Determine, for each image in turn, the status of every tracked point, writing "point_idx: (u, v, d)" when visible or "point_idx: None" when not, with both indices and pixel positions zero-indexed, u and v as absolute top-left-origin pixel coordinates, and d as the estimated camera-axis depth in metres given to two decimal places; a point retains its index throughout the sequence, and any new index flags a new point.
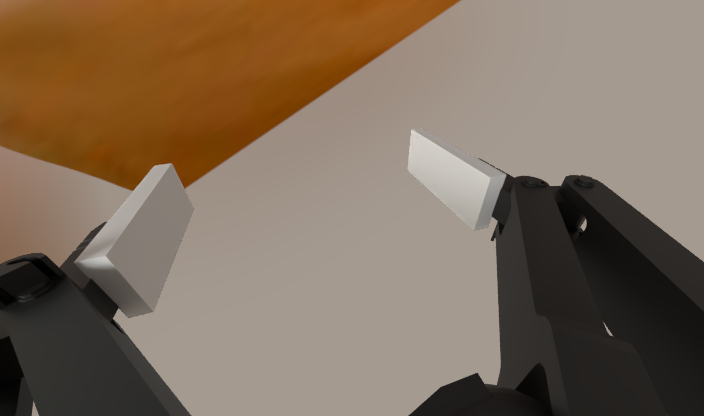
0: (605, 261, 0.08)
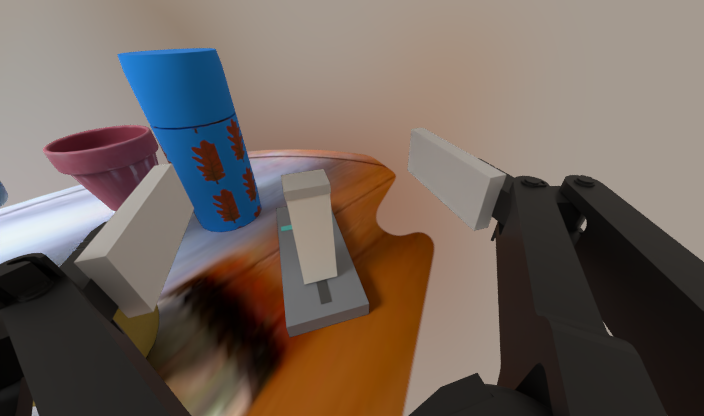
0: (605, 261, 0.08)
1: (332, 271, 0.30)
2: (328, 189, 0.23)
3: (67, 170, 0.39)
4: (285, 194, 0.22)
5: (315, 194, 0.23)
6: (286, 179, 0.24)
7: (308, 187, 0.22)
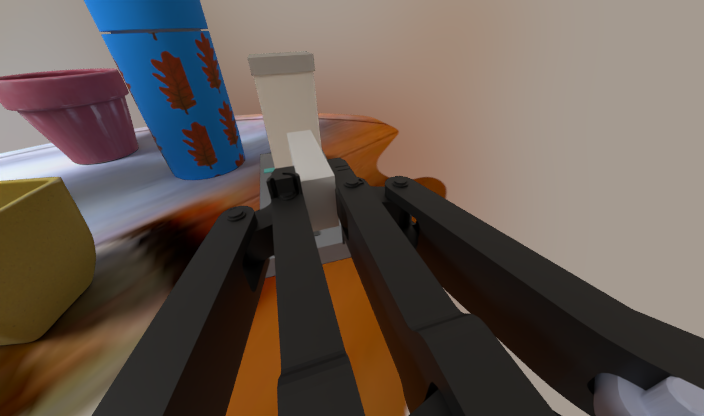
0: (446, 256, 0.08)
1: None
2: (311, 63, 0.17)
3: (12, 104, 0.33)
4: (251, 63, 0.16)
5: (293, 70, 0.17)
6: (255, 55, 0.18)
7: (283, 56, 0.16)
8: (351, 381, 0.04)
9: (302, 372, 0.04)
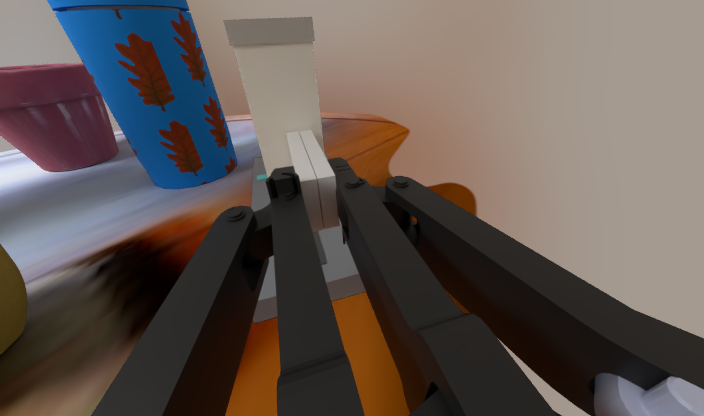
0: (446, 255, 0.08)
1: None
2: (309, 30, 0.13)
3: None
4: (228, 27, 0.12)
5: (286, 39, 0.13)
6: None
7: (271, 19, 0.12)
8: (350, 381, 0.04)
9: (301, 373, 0.04)
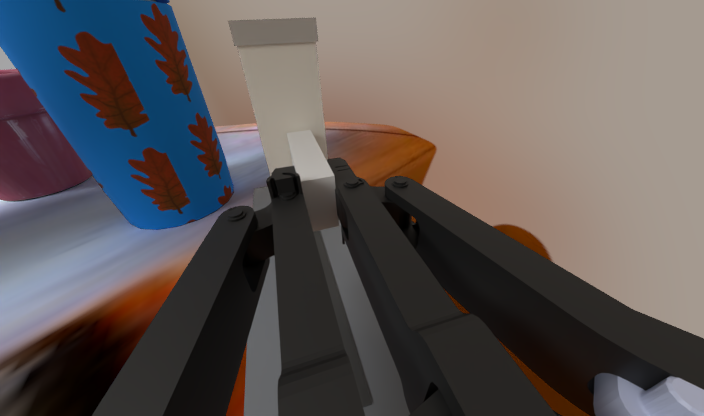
0: (446, 256, 0.08)
1: None
2: (313, 31, 0.13)
3: None
4: (233, 28, 0.12)
5: (290, 39, 0.13)
6: None
7: (276, 19, 0.12)
8: (351, 381, 0.04)
9: (302, 372, 0.04)
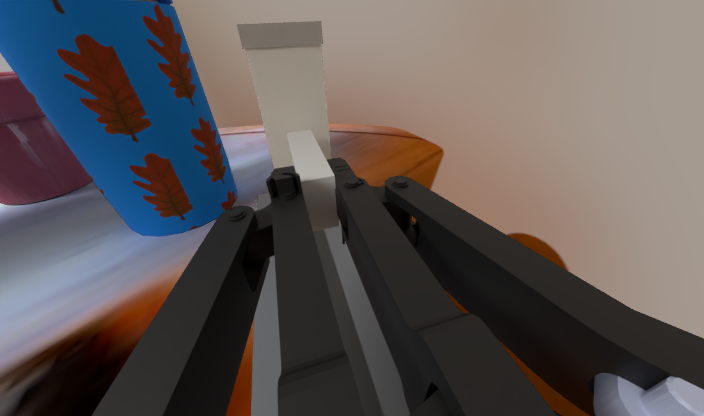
0: (446, 256, 0.08)
1: None
2: (318, 34, 0.13)
3: None
4: (241, 31, 0.12)
5: (296, 42, 0.13)
6: None
7: (282, 23, 0.13)
8: (351, 381, 0.04)
9: (302, 372, 0.04)
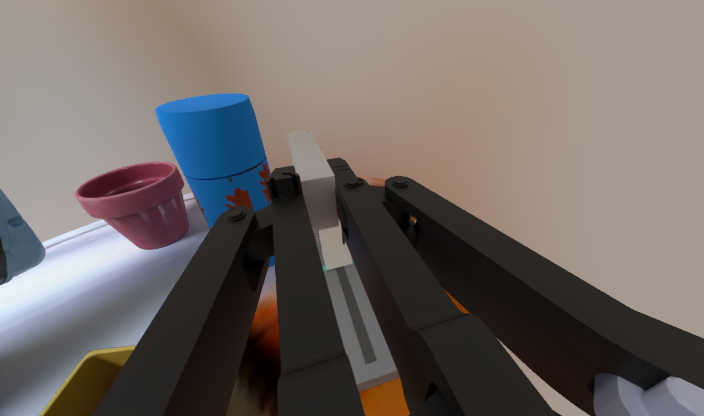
0: (446, 256, 0.08)
1: (348, 259, 0.37)
2: None
3: (98, 214, 0.39)
4: None
5: None
6: None
7: None
8: (351, 381, 0.04)
9: (301, 372, 0.04)
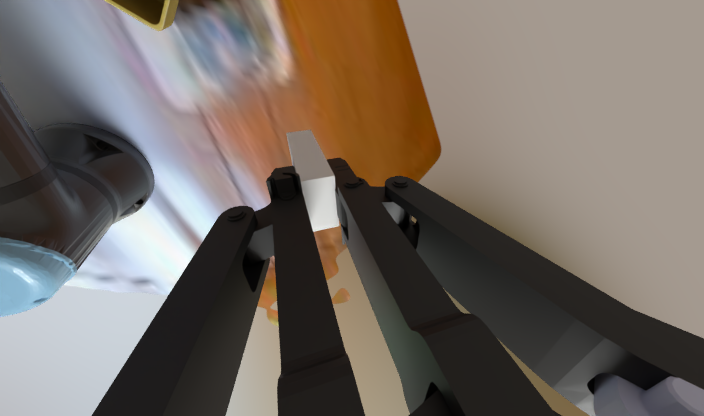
0: (446, 256, 0.08)
1: None
2: None
3: None
4: None
5: None
6: None
7: None
8: (351, 381, 0.04)
9: (302, 372, 0.04)
